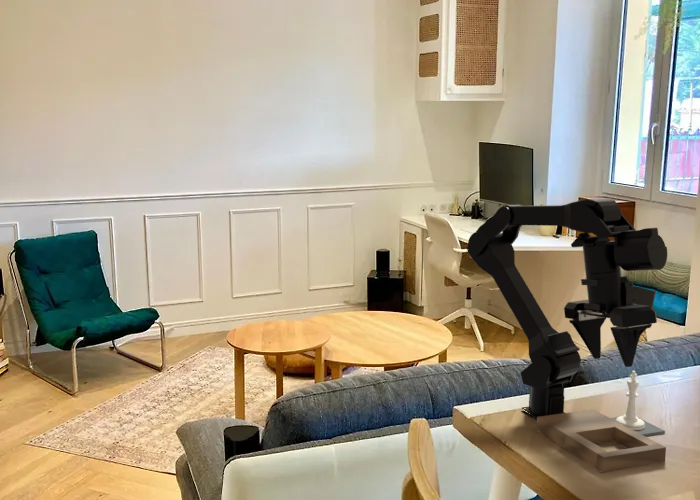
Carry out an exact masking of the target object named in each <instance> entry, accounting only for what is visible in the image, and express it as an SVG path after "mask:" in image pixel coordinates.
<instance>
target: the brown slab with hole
mask: <svg viewBox="0 0 700 500" xmlns="http://www.w3.org/2000/svg"><path fill="white" fill-rule="evenodd" d="M611 418H612V417H609V416H607V415H606V414H603V413H601V412H599V411H597V410H595V409H594V408H592V409H588V410H587V409H585V410H578V411H572V412H571V411H570V412H565V413H562V414H555V415H547V416H540V417H537V419H536V431H537V432H538V433H540V434H542V435H543V436H544V437H546V438H547V439H549V440H550V441H553V443H556V444H557V445H559V446H560V447H561V448H563V449H565V450H566V451H569V452H570V453H571V454H572V455H574V456H576V457H577V458H579V459H580V460H582V461H584V462H585V463H587V464H589V466H591V467H593V468H594V469H596V470H597V471H600V473H602V474H605V473H609V472H610V473H611V472H615V471H622V470H627V469H629V470H630V469H635V468H639V467H645V466H651V465H657V464H658V465H659V464H663V463H666V456H667V455H666V453H667V446H665V445H663V444H661V443H658V442H656V441H655V440H653V439H651V438H649V437H648V436H643V435H642V434H640V433H638V432H636V431H634V430H632V429H630V428H628V427H626V426H624V425H622V424H621V423H619V422H617V421H615V420H613V419H611ZM608 442H615V443H617V444H618V445H621V446H622V447H624V449H618V450H616V449H615V450H611V451H607V449H604V448H602V447H601V446H599V445H597V444H602V443H608Z"/></svg>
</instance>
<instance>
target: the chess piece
mask: <svg viewBox="0 0 700 500" xmlns="http://www.w3.org/2000/svg"><path fill="white" fill-rule="evenodd" d="M637 377H638V374H637V373H636V371H635V370H631V374H629V378H630V379H628V380H626V384H627V388H628V391H627V392H626V393H625V396H626V397H628V401H627V407H626V412H625V413H624V414H623V415H621V416H617V417H618V418H617V419H616V421H617V422H619V423H621V424H622V425H624V426H626V427H628V428H630V429H632V430H642V429H644V428H645V423H644V421H645V420H644V419H642V418H640V417H638V415H637V413H636V398H638V397H639V394H638V393H637V389H638V387H639V385H640V382H639V381H638V380H636V378H637ZM639 418H640V419H639ZM641 419H642V420H641ZM643 420H644V421H643Z"/></svg>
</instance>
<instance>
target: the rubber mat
mask: <svg viewBox="0 0 700 500" xmlns="http://www.w3.org/2000/svg"><path fill="white" fill-rule="evenodd" d="M618 417H619V416H615V417H610V418H611V419H613V420H615V421H616V419H617V418H618ZM638 418H639V419H641V420H643V421H644V423H645V428H644V429H642V430H634V431H636V432H638V433H640V434H642V435H643V436H645V437H648V436H649V437H650V436H655V435H656V436H657V435H661V434H665V433H666V430H664V429H662V428H660V427H658V426H656V425H654V424H652V423H650V422H648V421H647V420H645V419H643V418H640V417H638Z"/></svg>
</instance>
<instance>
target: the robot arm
mask: <svg viewBox="0 0 700 500" xmlns="http://www.w3.org/2000/svg"><path fill="white" fill-rule="evenodd" d="M522 226H547V227H548V226H549V227H552V226H554V227H556V226H557V227H564V228H567V229H569V230H571V231H575V232H581V233H579V234H578V236H577V237H576V238H575V239H574V240H573V242H572V243H571V244H570V246H571V247H572V248H582V251H583V252H582V254H583V261H584V262H583V263H584V271H585V278H581V279H580V281H581V282H580V283H581V285H582V286H586V291H587V299H582V300H575V301H568V302H567V303H566V305H565V306H564V308H563V311H564V318H565V319H570V320H569V324H571V325H572V327H573V328H574V329H575V330H576V332H577V333H578V335H579V337H580V338H581V340H582V341H583V343H584V345H585V346H586V348H587V350H588V351H589V352H590V355H591V356H592V358H593V360H599V359H601V354H602V337H601V335H602V334H601V328H602V327H603V325H604V323H605V321H606V320H607V319H609V320H610V323H611V324H612V327H610V332H611V333H612V336H613V339H614V341H615V344H616V348H617V350H618V352H619V355H620V358H621V360H622V362H623V365H624V367H626V368H629V367H633V364H634V362H635V361H634V360H635V356H636V352H637V349H638V344H639V341H640V339H641V336H642V334H643V333H644V332H645V331H646V330H647V329H651V328H652V326H653V324H657V323H658V318H657V310H655V309H654V308H653V306H654V303H655V297H656V293H657V291H655V290H651V289H648V288H644V287H640V286H636V285H634V283H633V282H630V279H629V278H628V276H627V275H622V271H621V270H623V271H626V272H630V271H631V272H633V271H634V272H635V271H639V272H640V271H660V270H662V269H663V268H664V267H665V266H666V264H667V261H668V247H667V246H666V244H665V241H664V239H663V238H662V236H661V235H660V234H659V228H658V227H648V228H647V227H646V228H642V229H638V230H636V228H635V227H634V226H633V224H631V223H630V222H629V220H628V219H627V218H626V217H625V215H624V214H623V213H622V211H621V208H620V206H619V204H618V202H617V201H616V200H615V199H613V198H609V197H606V198H605V197H604V198H588V199H582V200H577V201H572V202H569V203H566V204H560V205H559V204H558V205H554V204H553V205H522V204H505V205H502V206H500V207H499V208H498V209H497V210H496V212H495V214H493V215H492V216H491V217H490V218H489V219H488V220H486V221H485V222H483V223H482V224H481V225H480V226H479V227H478V228H477V230H476V231H475V232H473V233H472V234H471V235H470V236H469V238H468V242H467V246H466V251H467V253H468V255H469V257H470V258H471V259H472V261H473V262H474V264H475V265H476V266H477V267H478V268H480V269H481V270H482V271H483V272H484V273H486V274H487V275H489V276H490V277H492V279H493V281H494V282H495V284H496V286H497V288H498V289H499V292H500V293H501V295H502V297H503V299H504V300H505V302H506V304H507V305H508V307H509V308H510V310H511V312H512V313H513V315H514V318H515V319H516V320H517V322H518V324H519V326H520V327H521V329H522V331H523V333H524V335H525V337H526V338H527V340H528V356H529V359H530V362H531V363H530V364H529V365H528V366H526V368H524V369H523V370H522V371H520V377H521V381H522V384H523V385H526V386H529V398H528V406H525V407H524V406H522V407H521V410H522V409H524V408H526V409H524V410H525V411H527V412H528V413H530V414H531V415H532V416H533V417H532V416H531V417H532V418H534V417H535V418H536V419H535V418H534V419H535V420H537V417H540V416H547V415H555V414H562V413H566V412H565V386H564V384H565V383H570V382H572V380H573V377H574V375H575V374H576V373H577V372H578V371H579V369H580V367H581V362H582V358H581V355H580V353H579V351H580V348H579V347H578V346H577V345H576V344H575V342H574V340H573V338H572V335H571V334H570V333H569V332H568V331H567V330H565V331H561V332H559V331H557V330H556V329H555V328H553V327H552V325H551V322H549V320H548V318H547V317H546V315H545V314H544V311H543V310H542V309H541V307H540V305H539V304H538V301H537V299H536V298H535V297H534V294H533V293H532V292H531V290H530V288H529V287H528V284H527V283H526V282H525V280H524V278H523V277H522V275H521V273H520V272H519V270H518V269H517V266H516V261H515V259H516V257H515V256H516V255H515V248H514V247H513V244H514V243H515V241H516V240H517V239H518V237H519V234H520V231H521V227H522ZM590 234H593V236H592V235H590ZM610 238H613V239H614V240H611V239H610Z"/></svg>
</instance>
